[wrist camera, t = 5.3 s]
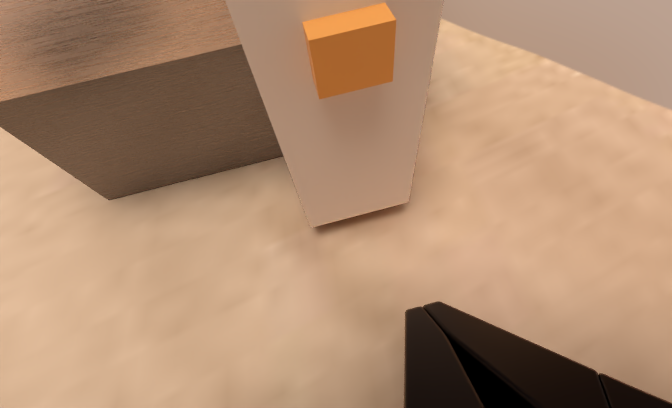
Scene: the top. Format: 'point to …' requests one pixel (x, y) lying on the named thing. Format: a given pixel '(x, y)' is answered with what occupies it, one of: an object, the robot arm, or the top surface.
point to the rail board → (131, 90)
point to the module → (343, 94)
